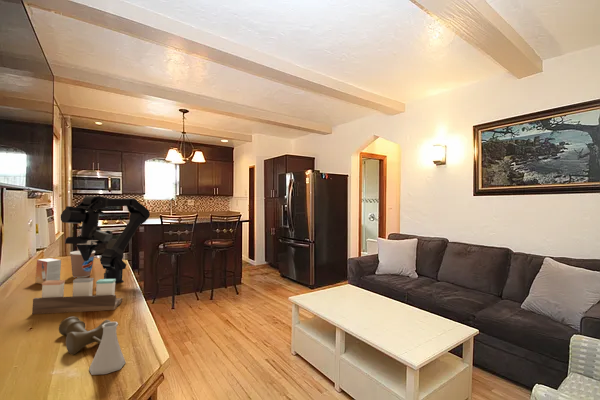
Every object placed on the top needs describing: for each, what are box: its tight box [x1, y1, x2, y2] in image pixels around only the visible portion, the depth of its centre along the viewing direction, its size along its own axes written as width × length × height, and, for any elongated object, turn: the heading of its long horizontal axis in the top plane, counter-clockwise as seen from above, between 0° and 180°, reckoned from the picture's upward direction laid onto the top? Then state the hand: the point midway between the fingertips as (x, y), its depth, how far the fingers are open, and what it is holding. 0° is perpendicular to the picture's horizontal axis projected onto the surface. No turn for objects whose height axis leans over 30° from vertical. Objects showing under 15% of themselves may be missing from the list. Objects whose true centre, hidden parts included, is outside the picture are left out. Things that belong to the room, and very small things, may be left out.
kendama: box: [58, 316, 112, 356], centre depth 78 cm, size 6×10×20 cm
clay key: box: [41, 279, 66, 298], centre depth 100 cm, size 3×5×8 cm, turn 106°
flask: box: [89, 321, 126, 376], centre depth 68 cm, size 7×7×10 cm
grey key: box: [72, 277, 95, 296], centre depth 104 cm, size 3×5×8 cm, turn 106°
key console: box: [31, 294, 123, 315], centre depth 103 cm, size 9×24×5 cm, turn 106°
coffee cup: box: [69, 250, 96, 279], centre depth 144 cm, size 10×10×12 cm
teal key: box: [95, 278, 116, 296], centre depth 104 cm, size 3×5×8 cm, turn 106°
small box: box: [34, 257, 62, 285], centre depth 130 cm, size 8×6×10 cm
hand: (86, 260), depth 122 cm, fingers closed
